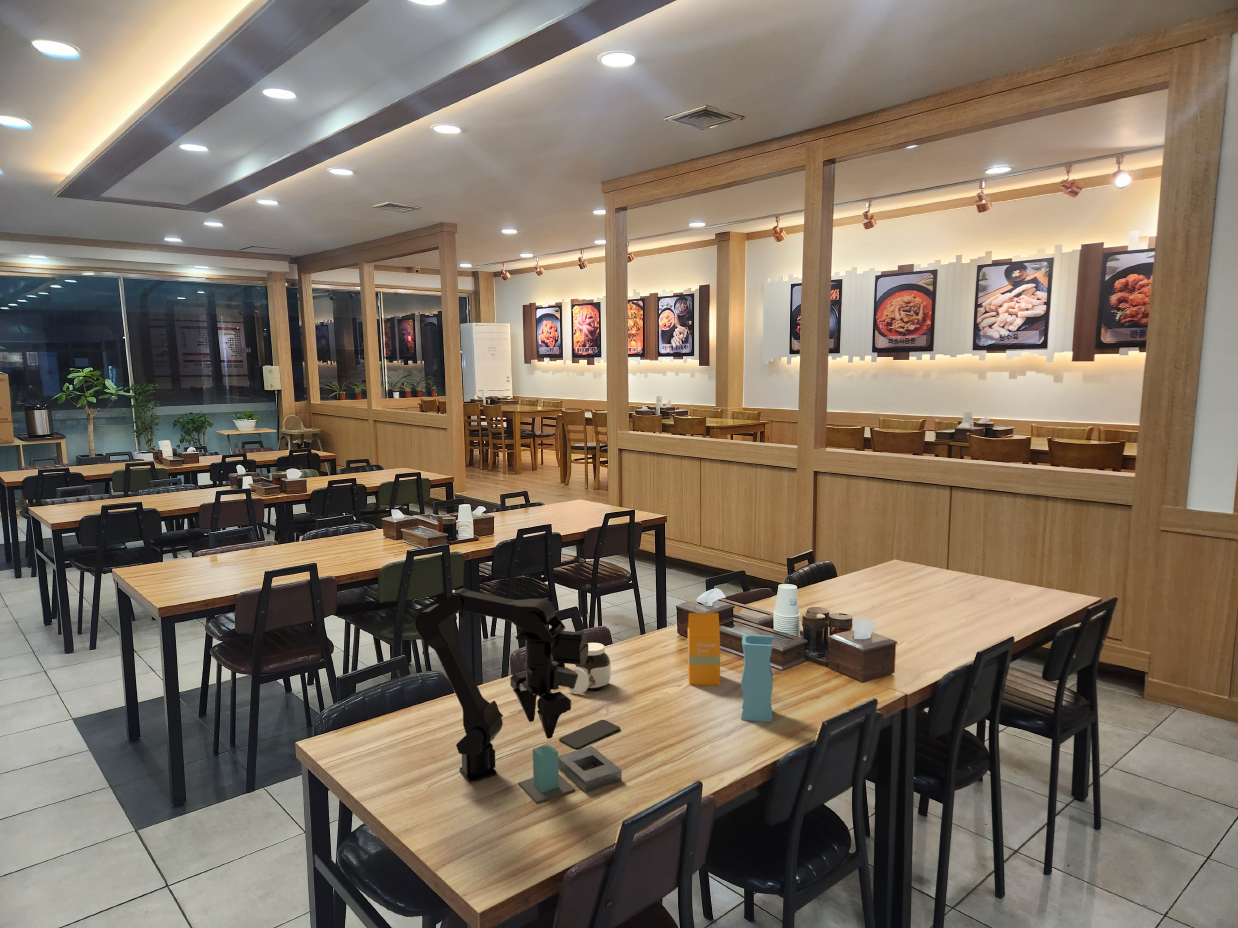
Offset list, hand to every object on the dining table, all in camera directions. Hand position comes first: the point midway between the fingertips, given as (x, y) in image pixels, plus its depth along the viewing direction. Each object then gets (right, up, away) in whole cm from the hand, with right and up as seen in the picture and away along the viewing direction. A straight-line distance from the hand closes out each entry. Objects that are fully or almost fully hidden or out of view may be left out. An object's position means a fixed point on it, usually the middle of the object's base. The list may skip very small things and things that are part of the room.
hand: (540, 729), depth 163 cm
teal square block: (+1, -12, -1) cm, 12 cm away
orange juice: (+42, -6, +57) cm, 71 cm away
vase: (+53, -8, +33) cm, 63 cm away
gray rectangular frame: (+10, -11, +4) cm, 16 cm away
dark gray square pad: (+1, -12, -1) cm, 12 cm away
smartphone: (+10, -10, +23) cm, 27 cm away
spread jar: (+8, -7, +51) cm, 52 cm away
